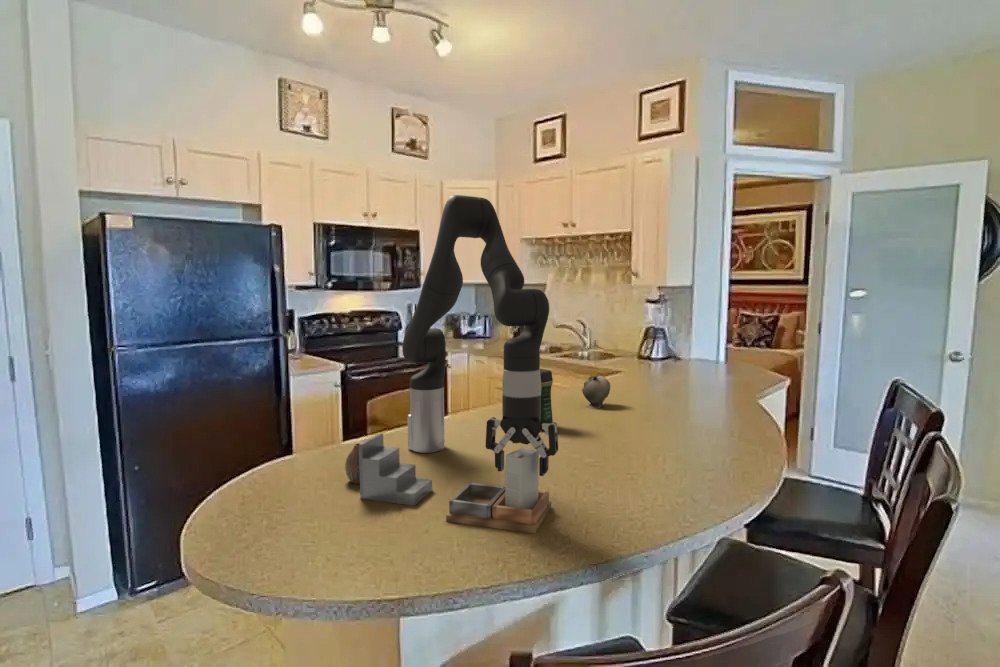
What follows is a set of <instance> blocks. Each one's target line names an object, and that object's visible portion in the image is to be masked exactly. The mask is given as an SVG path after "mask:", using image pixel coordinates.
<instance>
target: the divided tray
mask: <svg viewBox="0 0 1000 667" xmlns="http://www.w3.org/2000/svg"><path fill="white" fill-rule="evenodd" d="M448 504H449V505H448V506H449V507H448V508H449V510H448V513H447V514H446V515H445V522H449V523H456V524H457V523H458V524H463V525H464V524H465V525H470V526H472V525H473V526H478V527H485V528H491V529H499V530H506V531H514V532H520V533H527V534H536V533H537V531H538V529H539V528H540V526H541V525H542V522H544V520H545V518H546V516H547V515H548V513H549V511H550V510H551V508H552V501H550V491H543V490H538V503H537V504H536V506H535V507H534V509H533V510H530V509H522V508H515V507H507V506H505V486H501V485H493V484H483V483H476V482H468V483H467V484H465V486H463V488H461V489H460V490H459V491H458V492H457V493H455V495H454V496H453V497H452V498H450V499H449V502H448Z"/></svg>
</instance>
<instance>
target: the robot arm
mask: <svg viewBox="0 0 1000 667" xmlns="http://www.w3.org/2000/svg"><path fill="white" fill-rule="evenodd" d="M439 222H440V223H439V228H438V232H437V237H436V242H435V245H434V246H435V247H434V249H433V253H432V256H431V260H430V263H429V267H428V268H427V272H426V274H425V278H424V281H423V285H422V287H421V290H420V295H419V299H418V301H417V303H416V308H415V310H414V313H413V316H412V317H411V320H410V322H409V324H408V327H407V328H406V331H405V334H404V337H403V341H402V348H401V349H402V355H403V358H404V360H405V361H407V362H408V363H411V364H426V363H427V364H426V366H425V367H424V368H423V369H422V370H421V371H419V372H418V373H415V374H413V375H412V376H411V377H410V378H409V398H410V399H409V402H410V403H409V405H410V406H409V407H410V409H409V410H410V412H409V413H410V414H407V416H406V417H407V419H406V420H407V449H408V450H410V451H413V452H415V453H425V454H426V453H437V452H440V451H442V450H444V449H445V442H446V440H445V398H444V397H445V396H444V395H445V390H444V387H445V386H444V383H445V382H444V381H445V376H446V352H447V350H446V349H447V348H446V347H447V346H446V344H447V343H446V337H445V334H444V332H443V330H441V329H440V328H436V327H432V326H434V325H435V324H436V323H437V322H438V321H440V320H441V319H442V318H443V317H444V316H446V315H447V314H448V313H449V312H450V311H451V310H452V309H453V308H454V306H455V305H456V303H457V301H458V298H459V296H460V292H461V290H462V287H463V284H464V277H463V272H462V270H461V267H460V265H459V262H458V260H457V258H456V253H455V245H456V241H457V240H458V239H459V238H470V239H481V240H482V241H483V242H485V246H484V249H483V250H482V251H481V252H482V253H481V257H480V268H481V272H482V275H483V276H484V278H485V280H486V282H487V284H488V285H489V287H490V290H491V296H492V301H493V312H494V316H495V318H496V320H497V321H498V322H499V323H500V324H502V325H503V326H505V327H522V326H523V327H524V328H523V330H522V333H521V334H520V335H517V336H515V337H512V338H509V339H507V340H506V341H505V342H504V344H503V374H502V380H501V381H502V383H501V384H502V386H501V388H502V390H501V391H502V393H501V394H502V400H501V402H502V408H501V410H502V411H501V412H502V418H501V419H497V418H496V417H495V416H492V417H491V418H489V419H488V420H487V421H486V427H485V428H486V429H485V432H486V433H485V448H486V449H487V450H491V451H493V452H494V467H495V468H496V469H497V472H503V471H504V469H505V450H504V449H505V447H506V446H507V444H508V443H509V442H511V443H512V444H522V445H526V446H527V445H529V444H531V446H532V447H533V450H537V451H538V453H539V473H538V477H544V476H545V475H546V474H547V473H548V471H549V466H550V465H549V463H550V462H549V457H551V456H555V455H556V454H557V453H558V451H559V436H558V432H559V431H558V423H557V422H555V421H553V422H552V423H551V424H545V423H542V421H541V377H540V369H541V368H540V367H541V366H540V365H541V362H540V361H541V358H540V357H541V356H540V355H541V353H540V352H541V351H540V350H541V346H542V342H543V341H542V340H543V337H544V334H545V330H546V326H547V322H548V319H549V314H550V303H549V299H548V296H547V295H546V293H545V292H543V291H542V290H541V289H537V288H526V289H525V288H524V286H525V277H524V273H523V272H522V270H521V269H520V267H519V265H518V263H517V262H516V260H515V258H514V257H513V255H512V253H511V252H510V249H509V247H508V244H507V242H506V239H505V236H504V232H503V230H502V225H501V222H500V220H499V216H498V214H497V212H496V209H495V208H494V205H493V203H492V202H491V201H490V200H489V199H487V198H484V197H479V196H473V195H471V196H470V195H462V194H461V195H460V194H453V195H451V196H450V197H448V199H446V202H445V204H444V207H443V210H442V215H441V219H440V221H439ZM499 428H501V429H502V431H503V433H504V436H502V438H501V439H500V441H499V442H498V443H497V442H496V436H497V435H496V434H497V433H496V432H497V430H498V429H499ZM543 430H544V433H545V434H546V435H547V436H548V446H547V445H546V444H545V442H544V439H543V438H542V436H541V435H540V433H541V432H542V431H543Z"/></svg>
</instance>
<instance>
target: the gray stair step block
mask: <svg viewBox="0 0 1000 667" xmlns="http://www.w3.org/2000/svg"><path fill="white" fill-rule="evenodd" d="M359 443H360V444H359V469H360V484H359V498H360V499H363V500H371V501H376V502H385V503H392V504H400V505H407V506H413V507H414V506H415V505H416V504H418V503H419V502H420V501H422V500H423V499H424V498H425V497H426V496H427V495H428V494H430V493H431V492H433V480H432V479H430V478H429V479H428V478H421V477H416V474H417V472H416V470H417V469H416V464H411V463H403V462H402V463H401V462H400V448H399V447H394V446H393V447H392V446H385V445H384V433H383V432H381V433H378V434H376V435H374V436H372V437H370V438H368V439H366V440H365V441H363V442H359Z"/></svg>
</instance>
